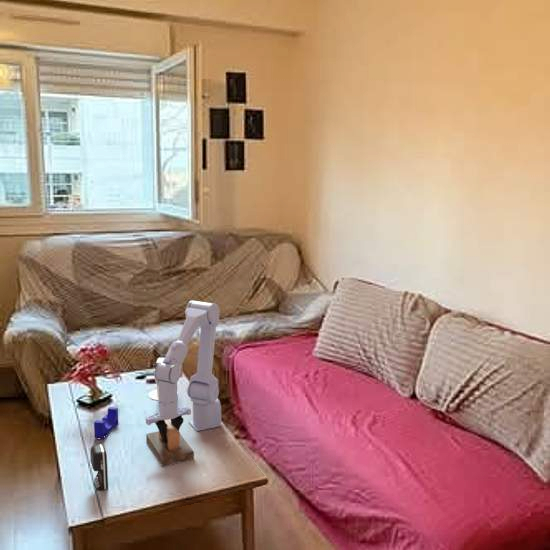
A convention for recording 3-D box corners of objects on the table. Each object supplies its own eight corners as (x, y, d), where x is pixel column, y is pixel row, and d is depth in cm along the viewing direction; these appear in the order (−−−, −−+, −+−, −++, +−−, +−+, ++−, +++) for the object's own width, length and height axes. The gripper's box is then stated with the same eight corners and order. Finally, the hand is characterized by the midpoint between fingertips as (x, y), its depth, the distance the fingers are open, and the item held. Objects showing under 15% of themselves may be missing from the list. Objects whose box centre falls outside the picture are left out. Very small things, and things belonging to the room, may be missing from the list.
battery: (91, 480, 171) (89, 444, 169) (104, 477, 173) (102, 441, 171) (94, 492, 165) (92, 455, 163) (108, 489, 167) (106, 452, 164)
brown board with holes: (175, 434, 199) (175, 427, 199) (194, 459, 184) (193, 451, 183) (146, 440, 195) (146, 433, 194) (162, 466, 179) (162, 458, 179)
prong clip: (167, 435, 193) (168, 418, 192) (178, 449, 186) (179, 432, 185) (158, 437, 192) (159, 420, 190) (170, 451, 185) (171, 434, 183)
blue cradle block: (106, 422, 208) (105, 406, 207) (118, 423, 207) (117, 407, 206) (90, 438, 196) (89, 421, 195) (103, 439, 196) (102, 422, 195)
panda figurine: (175, 401, 226) (174, 364, 223) (145, 401, 226) (144, 363, 223) (180, 389, 237) (179, 353, 234) (152, 388, 238) (151, 353, 235)
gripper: (183, 390, 193) (184, 429, 196) (141, 400, 185) (142, 440, 188) (193, 398, 187) (194, 437, 190) (150, 408, 179) (151, 449, 182)
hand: (169, 439), depth 189 cm, fingers closed on prong clip, 3 cm apart
